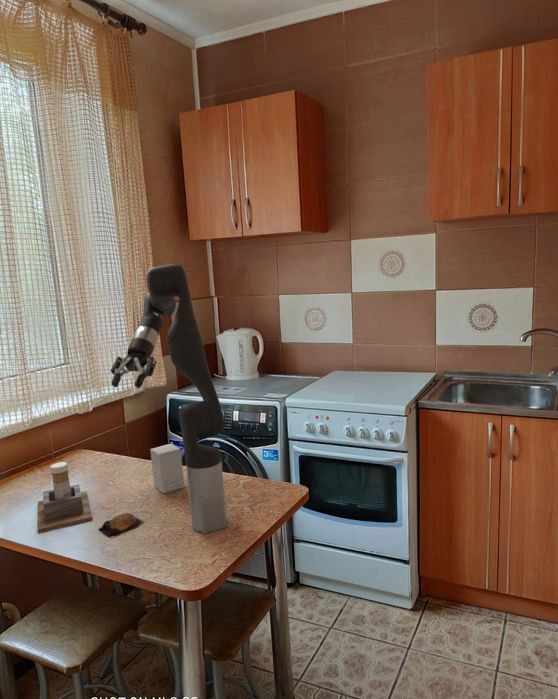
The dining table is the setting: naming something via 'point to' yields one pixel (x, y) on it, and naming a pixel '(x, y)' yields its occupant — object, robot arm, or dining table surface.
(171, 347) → the robot arm
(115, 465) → the dining table surface
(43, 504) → the collar board
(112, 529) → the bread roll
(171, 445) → the supplement box
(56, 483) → the sprinkles bottle
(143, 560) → the dining table surface
